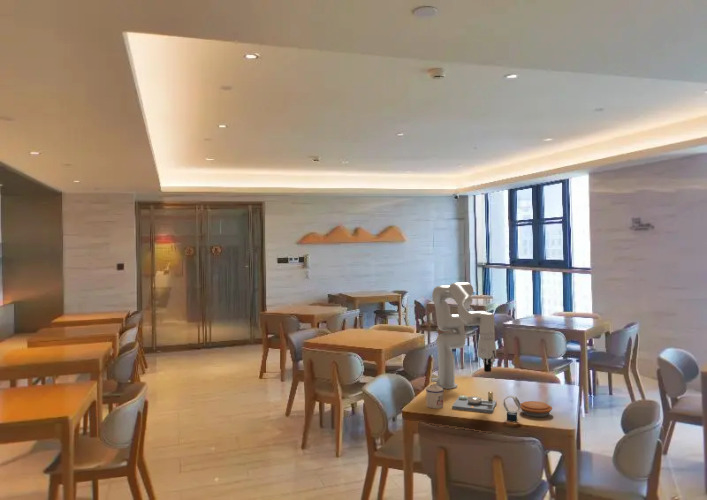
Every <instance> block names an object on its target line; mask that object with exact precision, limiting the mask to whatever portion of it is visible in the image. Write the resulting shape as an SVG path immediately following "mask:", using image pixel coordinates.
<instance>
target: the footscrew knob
mask: <svg viewBox="0 0 707 500" xmlns="http://www.w3.org/2000/svg"><path fill="white" fill-rule="evenodd" d="M467 398H468V403H470V404H481V403H488V404H492V403H493V400H494V393H493V391H488V392H487V399H484V400H482V399H483V398H482V397H479V396H467Z"/></svg>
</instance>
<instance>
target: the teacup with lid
mask: <svg viewBox="0 0 707 500" xmlns="http://www.w3.org/2000/svg"><path fill="white" fill-rule="evenodd" d="M425 391H426V397H425V398H426V407H427V408H430V409H442V408H444V388H441V387H439V386H437V384H436V382H433V383H432V385H431V386H427V387H426V389H425Z"/></svg>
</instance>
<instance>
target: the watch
mask: <svg viewBox="0 0 707 500" xmlns="http://www.w3.org/2000/svg"><path fill="white" fill-rule="evenodd" d="M509 398H512V399H513V402H514V404H515V405H516V406H515V407H517V408H518V409H517V410H510V409H509V407H508V406H507V404H506V400H507V399H509ZM502 405H503V407H504V410H505V411H506V421H507V422H508V421H509V422H517V420H518V412H519V411H520V409H521V408H520V407H521V402H520V400H519V399H518V397H517V396H515V395H507V396H505V398H504V400H503V403H502Z"/></svg>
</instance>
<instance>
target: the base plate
mask: <svg viewBox="0 0 707 500" xmlns="http://www.w3.org/2000/svg"><path fill="white" fill-rule="evenodd" d="M482 400H485V399H484V398H482ZM496 406H497V400H494V399H493V403H492V404H488V403H481V404H470V403H468V396H467V395H458V397H457V399H456V400H455V401H454V403H453V404H452V406H451V409H452V410H459V411H468V412H479V413H485V414H486V413H487V414H493V413H494V410H495V408H496Z"/></svg>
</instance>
